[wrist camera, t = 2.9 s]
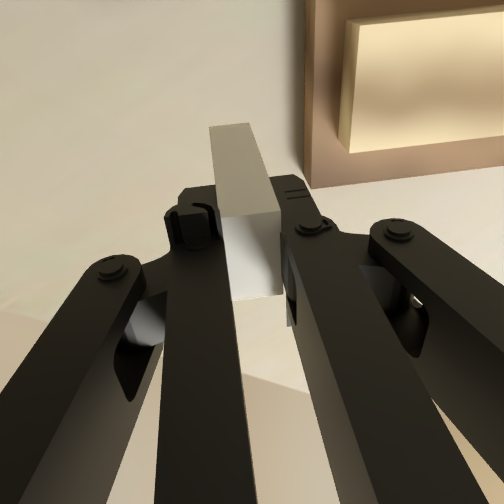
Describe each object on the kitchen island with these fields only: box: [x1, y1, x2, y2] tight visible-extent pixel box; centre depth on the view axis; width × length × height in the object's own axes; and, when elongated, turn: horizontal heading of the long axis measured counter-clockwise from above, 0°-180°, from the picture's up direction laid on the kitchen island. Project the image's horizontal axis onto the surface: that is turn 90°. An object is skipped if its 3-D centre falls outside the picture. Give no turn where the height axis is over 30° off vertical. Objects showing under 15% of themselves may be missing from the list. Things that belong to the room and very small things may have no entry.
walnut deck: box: [304, 0, 504, 189], centre depth 22 cm, size 12×14×2 cm
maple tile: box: [338, 4, 504, 153], centre depth 21 cm, size 6×9×2 cm, turn 94°
